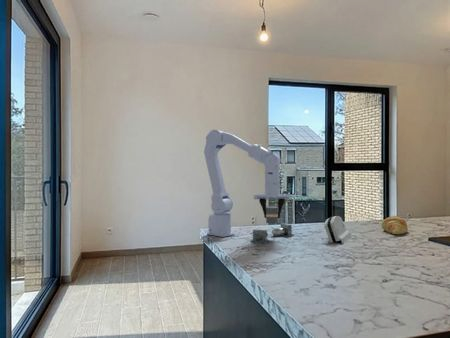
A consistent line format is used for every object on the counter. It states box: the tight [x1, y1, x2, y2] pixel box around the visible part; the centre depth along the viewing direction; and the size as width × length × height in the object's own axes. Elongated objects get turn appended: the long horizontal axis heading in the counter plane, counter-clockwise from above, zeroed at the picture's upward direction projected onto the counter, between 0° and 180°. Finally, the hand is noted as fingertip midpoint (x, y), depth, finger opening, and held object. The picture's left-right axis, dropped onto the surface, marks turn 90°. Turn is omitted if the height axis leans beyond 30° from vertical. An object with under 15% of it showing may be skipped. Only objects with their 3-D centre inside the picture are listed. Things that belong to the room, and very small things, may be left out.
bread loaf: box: [380, 215, 408, 235], centre depth 156 cm, size 21×10×8 cm, turn 160°
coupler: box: [265, 206, 279, 224], centre depth 144 cm, size 5×5×6 cm
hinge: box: [324, 215, 352, 245], centre depth 142 cm, size 17×5×10 cm, turn 151°
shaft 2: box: [271, 222, 295, 237], centre depth 150 cm, size 8×6×4 cm
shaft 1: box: [250, 228, 270, 244], centre depth 140 cm, size 8×6×4 cm
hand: (272, 217), depth 144 cm, fingers closed on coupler, 5 cm apart
